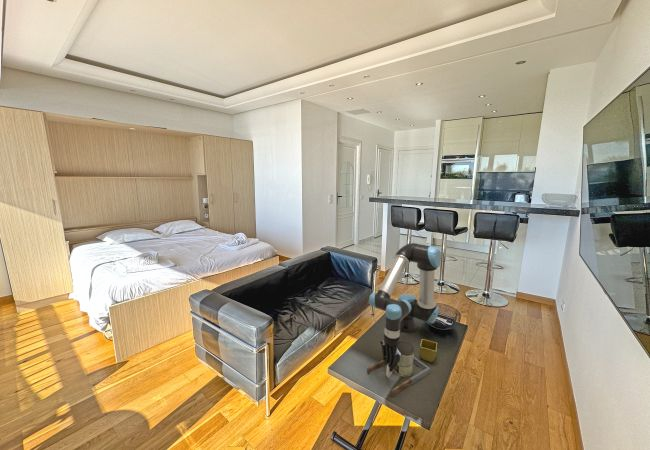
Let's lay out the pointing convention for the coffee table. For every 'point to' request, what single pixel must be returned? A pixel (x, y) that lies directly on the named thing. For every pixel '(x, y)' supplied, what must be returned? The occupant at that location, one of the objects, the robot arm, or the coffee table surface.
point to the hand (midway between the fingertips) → (388, 374)
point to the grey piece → (423, 373)
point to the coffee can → (405, 359)
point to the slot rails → (396, 389)
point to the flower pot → (428, 350)
